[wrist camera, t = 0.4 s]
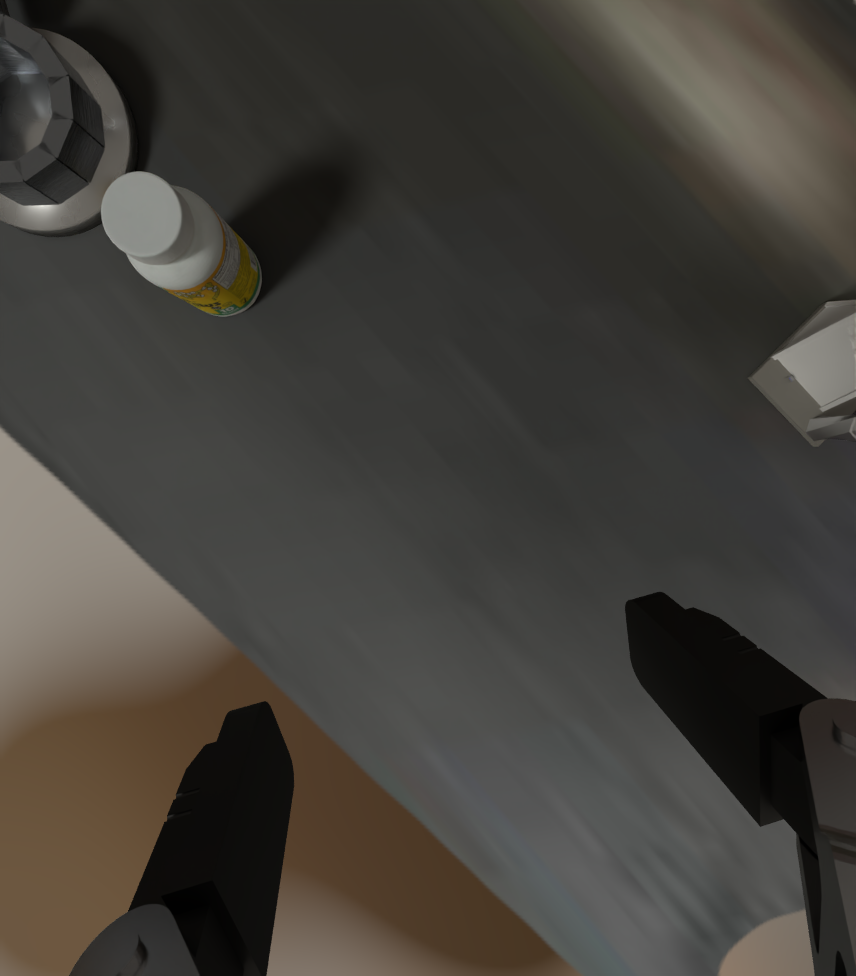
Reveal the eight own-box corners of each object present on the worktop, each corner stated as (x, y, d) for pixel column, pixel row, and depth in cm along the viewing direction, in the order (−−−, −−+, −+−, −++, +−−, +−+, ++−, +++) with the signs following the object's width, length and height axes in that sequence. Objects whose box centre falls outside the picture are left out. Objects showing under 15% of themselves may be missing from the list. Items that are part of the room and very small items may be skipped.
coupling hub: (-57, 45, 31) (-127, -12, 27) (128, 39, 31) (85, -19, 27) (-31, 239, 32) (-95, 212, 28) (147, 234, 32) (108, 206, 28)
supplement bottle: (275, 256, 33) (212, 182, 23) (248, 330, 33) (176, 289, 24) (200, 224, 32) (105, 136, 23) (174, 300, 33) (72, 245, 23)
